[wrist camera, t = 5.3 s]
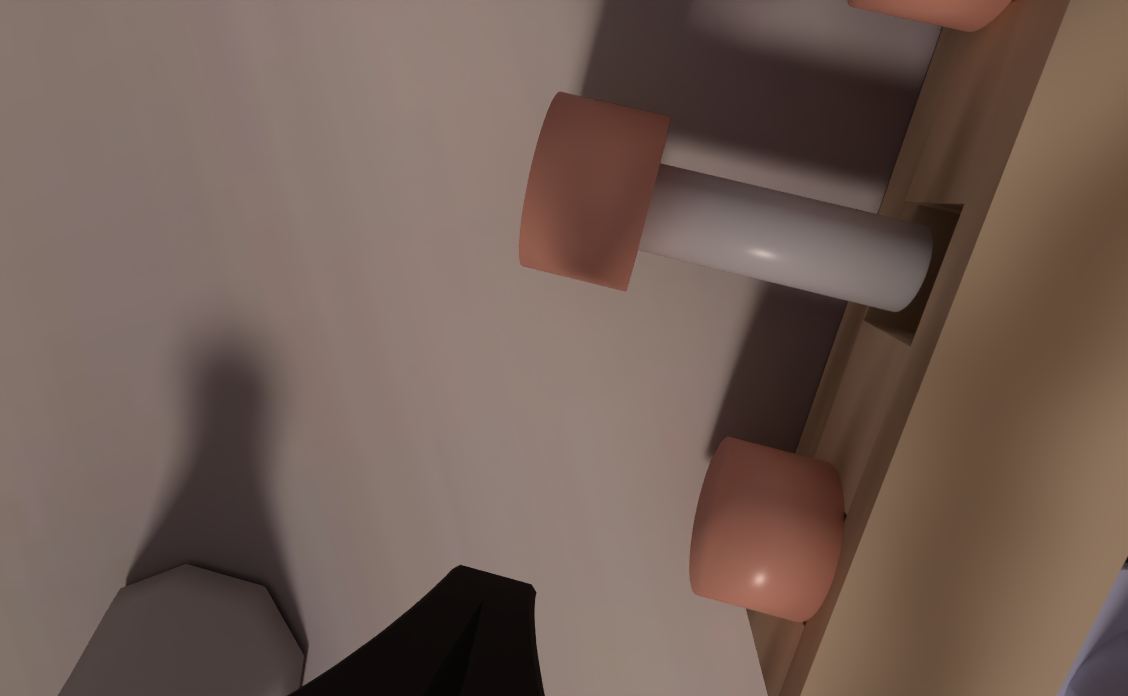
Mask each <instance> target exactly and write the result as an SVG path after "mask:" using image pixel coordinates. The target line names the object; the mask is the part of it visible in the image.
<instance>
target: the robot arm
mask: <svg viewBox="0 0 1128 696" xmlns="http://www.w3.org/2000/svg"><path fill="white" fill-rule="evenodd" d="M535 597H536V591H535V589H534V588H533V586H532V584H528V583H524V582H521V581H517V580H514V579H510V578H506V577H503V576H499V575H495V574H492V573H488V572H485V571H481V570H477V569H474V568H470V567H466V566H463V565H459V566H457V567H455V568H454V569H452V570H451V571H450V572H449V573H448V574H447V575H446V576H445V577H444V578H443V579H442V580H441V581H440V582H439V583H438V584H437V585H436V586H435V587H434V588H433V589H432V590H431V591H430V592H429V593H427V594H426V595H425V596H424V597H423V598H422V599H421V600H420V601H418V602H417V603H416V604H415V605H414V606H413V607H412V608H410V609H409V610H408V611H407V612H405V613H404V614H403V615H402V616H401V617H399V618H398V619H397V620H396V621H394V622H393V623H392V624H391V625H389V626H388V627H387V628H386V629H385V630H383V631H382V632H381V633H379V634H378V635H377V636H376V637H374V638H373V639H371V640H370V641H369V642H367V643H366V644H365V645H363V646H362V647H360V648H359V649H358V650H356V651H355V652H353V653H352V654H351V655H349V656H348V657H346V658H345V659H344V660H342V661H341V662H339V663H338V664H337V665H335V666H334V667H332V668H331V669H329V670H328V671H326V672H324V673H323V674H321V675H320V676H318V677H317V678H315V679H314V680H312V681H310V682H309V683H307V684H306V685H304V686H302V687H301V688H299V689H297V690H296V691H294V692H292V693H290V694H289V695H287V696H545V694H544V689H543V684H542V678H541V672H540V666H539V660H538V653H537V645H536V634H535V617H534V609H535ZM1057 696H1128V563H1126V562H1124V564H1123V566H1122V568H1121V570H1120V572H1119V574H1118V576H1117V578H1116V580H1115V582H1114V584H1113V586H1112V588H1111V590H1110V592H1109V594H1108V596H1107V598H1106V600H1105V602H1104V604H1103V605H1102V607H1101V609H1100V611H1099V613H1098V615H1097V617H1096V619H1095V621H1094V623H1093V625H1092V627H1091V629H1090V631H1089V633H1088V635H1087V637H1086V639H1085V641H1084V643H1083V645H1082V647H1081V649H1080V651H1079V653H1078V655H1077V656H1076V658H1075V660H1074V662H1073V664H1072V666H1071V668H1070V670H1069V672H1068V674H1067V676H1066V678H1065V680H1064V682H1063V684H1062V686H1061V688H1060V690H1059V692H1058V694H1057Z"/></svg>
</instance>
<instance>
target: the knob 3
mask: <svg viewBox="0 0 1128 696" xmlns="http://www.w3.org/2000/svg"><path fill="white" fill-rule="evenodd" d="M1011 1H1012V0H848V4H849V6H851V7H854V8H859V9H864V10H868V11H873V12H878V13H882V14H887V15H891V16H896V17H901V18H905V19H910V20H915V21H919V22H924V23H928V24H933V25H938V26H942V27H947V28H952V29H956V30H961V31H965V32H974V31H977V30H979V29H981V28H983V27H984V26H986V25H987V24H989V23H990V22H991V21H992V20H994V19H995V18H996V17H997V16H998V15H999V14H1000V13H1001V12H1002V11H1003V10H1004V9H1005V8H1006V7H1007V5H1008V4H1009V3H1010V2H1011Z"/></svg>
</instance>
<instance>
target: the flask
mask: <svg viewBox="0 0 1128 696" xmlns="http://www.w3.org/2000/svg"><path fill="white" fill-rule="evenodd" d="M303 661H304V655H303V653H302V651H301V649H300V648H299V646H298V644H297V642H296V641H295V639H294V637H293V635H292V633H291V632H290V630H289V628H288V626H287V625H286V623H285V621H284V619H283V618H282V616H281V614H280V612H279V610H278V609H277V607H276V605H275V603H274V602H273V600H272V598H271V596H270V595H269V593H268V591H267V589H266V587H265V586H262V585H258V584H255V583H251V582H248V581H244V580H241V579H237V578H234V577H230V576H227V575H223V574H220V573H216V572H213V571H209V570H206V569H202V568H199V567H195V566H192V565H188V564H184V565H181V566H178V567H176V568H173V569H171V570H168V571H165V572H163V573H160V574H157V575H155V576H152V577H149V578H147V579H144V580H142V581H139V582H136V583H134V584H131V585H128V586H126V587H123V588H120V590H119V592H118V593H117V595H116V597H115V598H114V600H113V601H112V603H111V605H110V606H109V608H108V610H107V611H106V613H105V615H104V617H103V618H102V620H101V622H100V624H99V625H98V627H97V629H96V631H95V632H94V634H93V636H92V638H91V639H90V641H89V643H88V645H87V647H86V648H85V650H84V652H83V654H82V655H81V657H80V659H79V661H78V662H77V664H76V666H75V668H74V669H73V671H72V673H71V675H70V677H69V678H68V680H67V681H66V683H65V685H64V686H63V688H62V689H61V691H60V693H59V694H58V696H287V695H289V694H290V693H292V692H294V691H296V690H297V689H299V687H300V681H301V674H302V668H303Z"/></svg>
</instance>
